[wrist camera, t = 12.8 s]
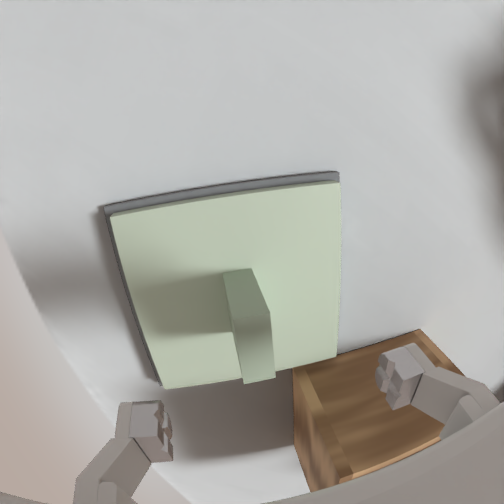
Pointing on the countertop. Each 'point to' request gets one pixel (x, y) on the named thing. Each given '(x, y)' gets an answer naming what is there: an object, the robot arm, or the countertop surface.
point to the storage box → (357, 415)
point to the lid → (235, 281)
